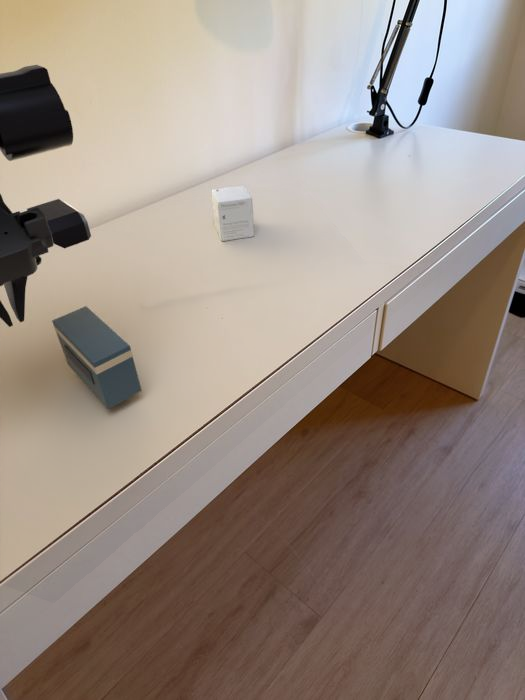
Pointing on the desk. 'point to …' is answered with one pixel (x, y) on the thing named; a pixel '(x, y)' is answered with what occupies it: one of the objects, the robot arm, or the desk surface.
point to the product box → (233, 213)
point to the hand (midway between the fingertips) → (15, 322)
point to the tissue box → (98, 356)
